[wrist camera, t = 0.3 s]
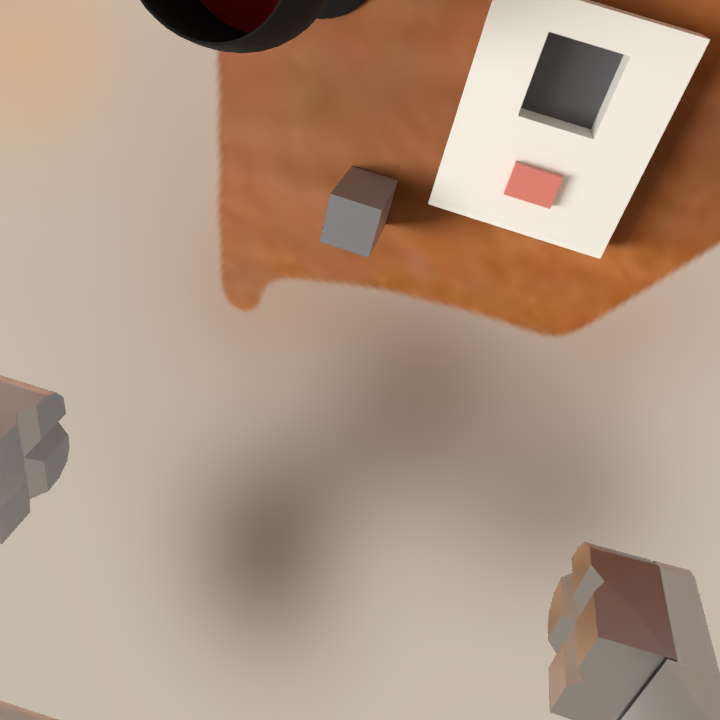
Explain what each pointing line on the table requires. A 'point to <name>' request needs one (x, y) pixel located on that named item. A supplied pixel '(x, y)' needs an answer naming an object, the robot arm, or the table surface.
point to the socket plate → (562, 118)
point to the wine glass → (243, 20)
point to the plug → (358, 211)
